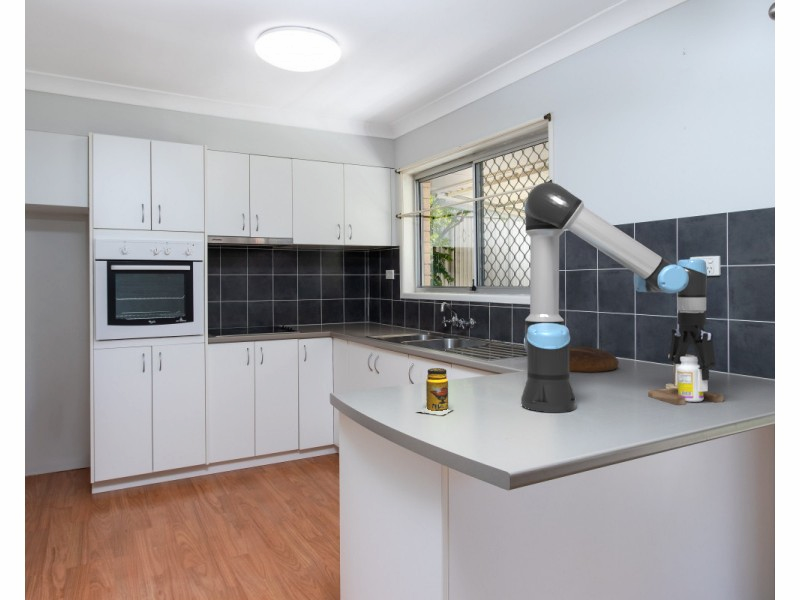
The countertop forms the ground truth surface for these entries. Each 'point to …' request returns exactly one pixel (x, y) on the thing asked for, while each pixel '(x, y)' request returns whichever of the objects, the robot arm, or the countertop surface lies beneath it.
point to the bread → (591, 360)
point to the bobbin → (672, 385)
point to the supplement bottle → (689, 379)
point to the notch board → (673, 397)
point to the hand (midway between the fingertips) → (691, 388)
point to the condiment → (437, 389)
